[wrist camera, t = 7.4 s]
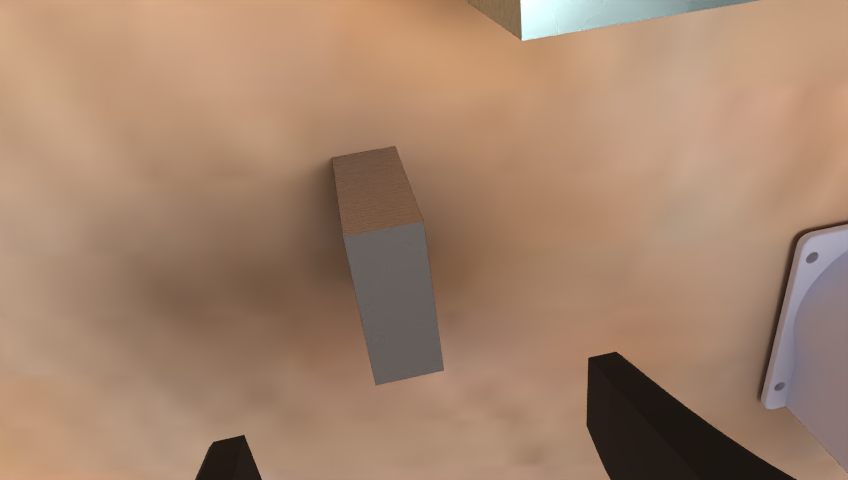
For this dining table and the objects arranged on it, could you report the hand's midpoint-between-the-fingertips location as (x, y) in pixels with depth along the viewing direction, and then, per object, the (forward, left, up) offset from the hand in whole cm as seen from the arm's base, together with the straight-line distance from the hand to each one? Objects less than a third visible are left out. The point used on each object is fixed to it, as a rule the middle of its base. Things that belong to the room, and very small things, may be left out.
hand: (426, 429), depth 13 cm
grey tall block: (0, 0, -9) cm, 9 cm away
